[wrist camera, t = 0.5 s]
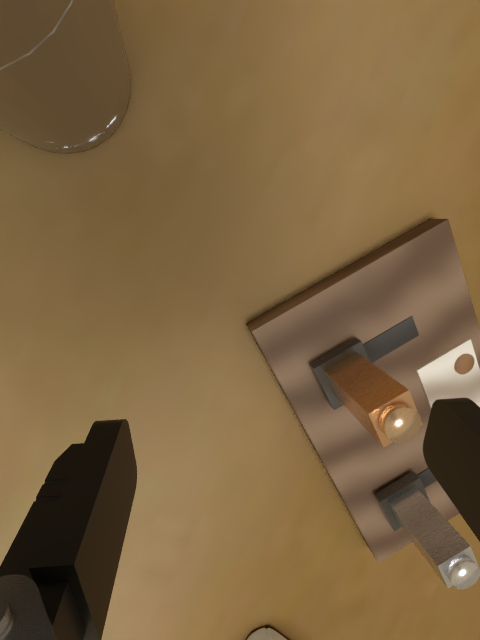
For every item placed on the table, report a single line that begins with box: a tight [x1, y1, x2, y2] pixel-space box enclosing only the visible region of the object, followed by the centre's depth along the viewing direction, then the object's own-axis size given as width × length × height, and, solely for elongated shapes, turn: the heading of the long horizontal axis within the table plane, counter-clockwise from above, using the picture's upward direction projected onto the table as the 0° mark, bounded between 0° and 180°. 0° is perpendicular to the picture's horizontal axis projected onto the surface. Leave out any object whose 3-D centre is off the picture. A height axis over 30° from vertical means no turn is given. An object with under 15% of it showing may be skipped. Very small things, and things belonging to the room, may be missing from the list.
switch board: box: [246, 219, 480, 563], centre depth 34 cm, size 30×18×2 cm, turn 27°
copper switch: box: [309, 337, 423, 448], centre depth 26 cm, size 4×4×8 cm
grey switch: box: [374, 471, 480, 589], centre depth 32 cm, size 4×4×8 cm
